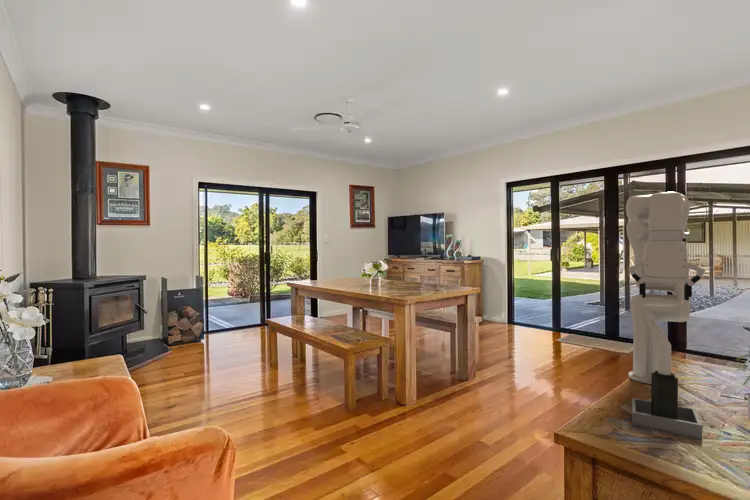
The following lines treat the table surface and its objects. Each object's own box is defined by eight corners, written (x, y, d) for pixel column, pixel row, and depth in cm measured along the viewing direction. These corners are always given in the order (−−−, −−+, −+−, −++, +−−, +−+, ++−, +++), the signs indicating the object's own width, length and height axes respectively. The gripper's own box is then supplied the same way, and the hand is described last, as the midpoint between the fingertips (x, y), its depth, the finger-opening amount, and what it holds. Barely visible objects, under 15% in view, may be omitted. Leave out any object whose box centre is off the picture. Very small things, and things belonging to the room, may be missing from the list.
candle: (679, 425, 108) (680, 334, 107) (658, 424, 109) (659, 333, 108) (669, 417, 113) (670, 330, 112) (649, 416, 114) (650, 329, 113)
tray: (631, 410, 120) (631, 397, 119) (695, 422, 111) (695, 408, 111) (632, 425, 109) (632, 412, 109) (702, 440, 101) (702, 425, 101)
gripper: (703, 236, 108) (702, 298, 109) (628, 237, 117) (627, 294, 118) (707, 236, 102) (707, 302, 102) (628, 237, 111) (627, 298, 112)
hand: (664, 298), depth 110 cm, fingers open, 9 cm apart
